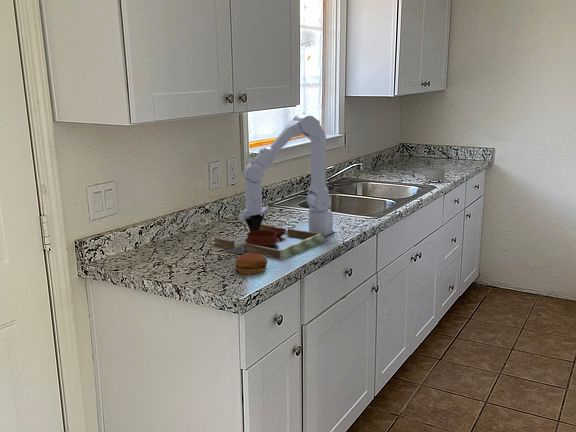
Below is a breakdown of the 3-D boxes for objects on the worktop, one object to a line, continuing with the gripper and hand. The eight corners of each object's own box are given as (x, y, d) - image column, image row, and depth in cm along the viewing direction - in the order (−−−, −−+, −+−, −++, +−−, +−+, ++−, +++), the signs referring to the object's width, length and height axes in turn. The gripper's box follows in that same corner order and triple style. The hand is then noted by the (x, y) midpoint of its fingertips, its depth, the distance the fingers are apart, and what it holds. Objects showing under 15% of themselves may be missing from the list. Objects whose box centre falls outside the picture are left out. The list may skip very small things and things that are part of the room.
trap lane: (259, 229, 218) (259, 222, 217) (323, 241, 202) (324, 232, 201) (214, 245, 198) (214, 236, 197) (282, 259, 182) (282, 250, 181)
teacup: (440, 184, 309) (441, 169, 307) (421, 182, 315) (422, 168, 313) (448, 180, 321) (449, 166, 319) (429, 179, 326) (430, 165, 324)
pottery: (238, 248, 194) (238, 235, 193) (267, 234, 212) (267, 222, 211) (269, 252, 189) (268, 239, 188) (295, 237, 206) (295, 226, 205)
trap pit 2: (282, 230, 217) (282, 229, 217) (295, 232, 213) (295, 231, 213) (276, 232, 213) (276, 231, 213) (289, 235, 210) (289, 234, 210)
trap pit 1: (232, 248, 194) (232, 247, 193) (246, 251, 190) (246, 250, 190) (224, 251, 190) (224, 250, 190) (238, 254, 187) (238, 253, 187)
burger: (250, 277, 165) (249, 262, 164) (229, 271, 172) (228, 256, 170) (274, 269, 172) (274, 255, 171) (253, 263, 178) (252, 249, 177)
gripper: (257, 193, 208) (258, 229, 211) (231, 200, 197) (232, 238, 200) (272, 196, 204) (273, 232, 207) (247, 203, 193) (248, 241, 196)
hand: (254, 235), depth 203 cm, fingers closed
